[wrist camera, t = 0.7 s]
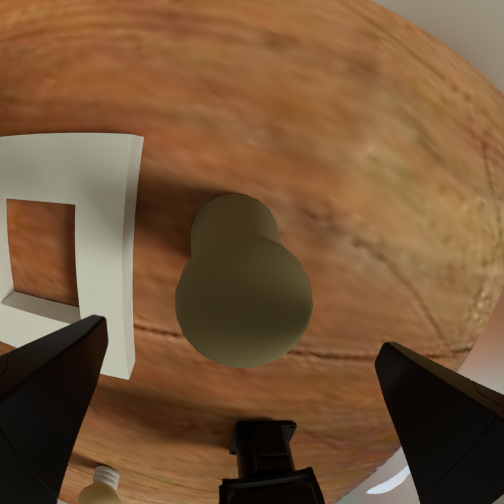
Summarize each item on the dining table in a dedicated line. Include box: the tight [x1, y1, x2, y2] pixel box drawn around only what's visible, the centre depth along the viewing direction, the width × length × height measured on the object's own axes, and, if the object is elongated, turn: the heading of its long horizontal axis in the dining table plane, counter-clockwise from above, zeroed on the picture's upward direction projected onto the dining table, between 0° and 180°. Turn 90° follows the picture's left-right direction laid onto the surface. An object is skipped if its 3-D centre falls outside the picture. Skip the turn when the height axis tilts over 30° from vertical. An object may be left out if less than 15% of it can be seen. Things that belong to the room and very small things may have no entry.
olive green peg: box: [175, 193, 313, 368], centre depth 14 cm, size 6×6×11 cm
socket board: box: [0, 133, 144, 380], centre depth 17 cm, size 18×16×2 cm
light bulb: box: [78, 466, 122, 504], centre depth 24 cm, size 6×6×10 cm
